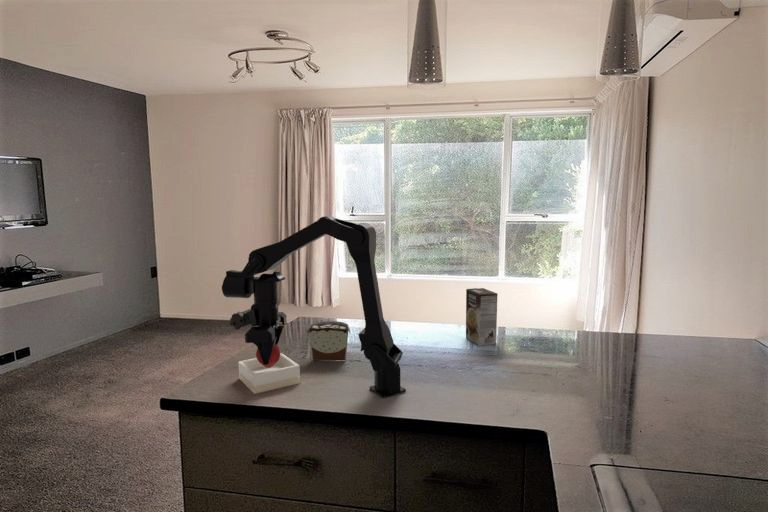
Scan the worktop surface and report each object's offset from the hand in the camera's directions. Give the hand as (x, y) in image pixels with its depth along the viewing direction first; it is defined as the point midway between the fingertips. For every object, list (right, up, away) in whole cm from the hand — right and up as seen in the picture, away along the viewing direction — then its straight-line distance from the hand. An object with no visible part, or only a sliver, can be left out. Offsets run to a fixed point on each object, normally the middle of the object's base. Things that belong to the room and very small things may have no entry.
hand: (268, 360), depth 121 cm
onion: (0, -2, 0) cm, 2 cm away
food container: (+14, -3, +18) cm, 23 cm away
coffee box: (+59, -1, +32) cm, 67 cm away
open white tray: (0, -5, +1) cm, 5 cm away
